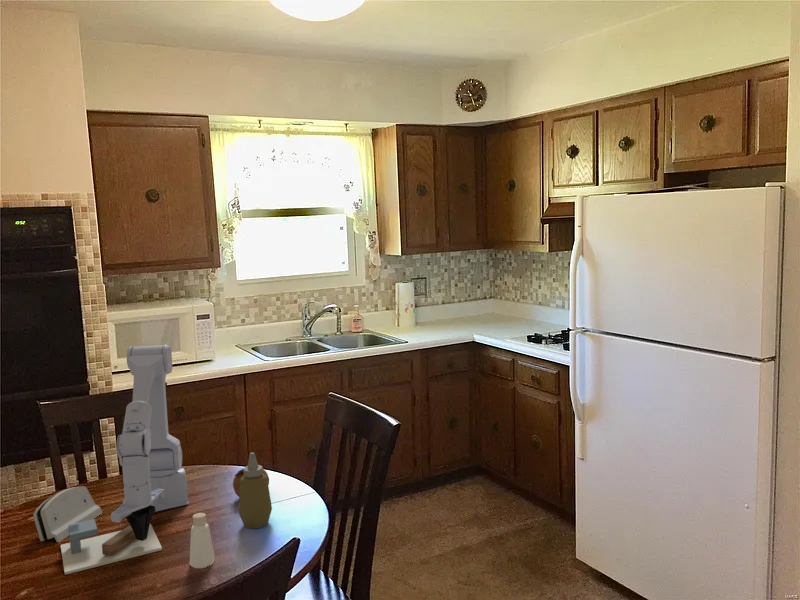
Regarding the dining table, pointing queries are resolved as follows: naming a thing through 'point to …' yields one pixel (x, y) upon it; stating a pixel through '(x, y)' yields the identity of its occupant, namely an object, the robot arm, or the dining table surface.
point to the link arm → (118, 541)
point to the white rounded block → (64, 512)
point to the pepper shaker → (201, 543)
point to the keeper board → (100, 547)
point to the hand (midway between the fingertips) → (141, 538)
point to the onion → (237, 481)
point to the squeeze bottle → (254, 495)
